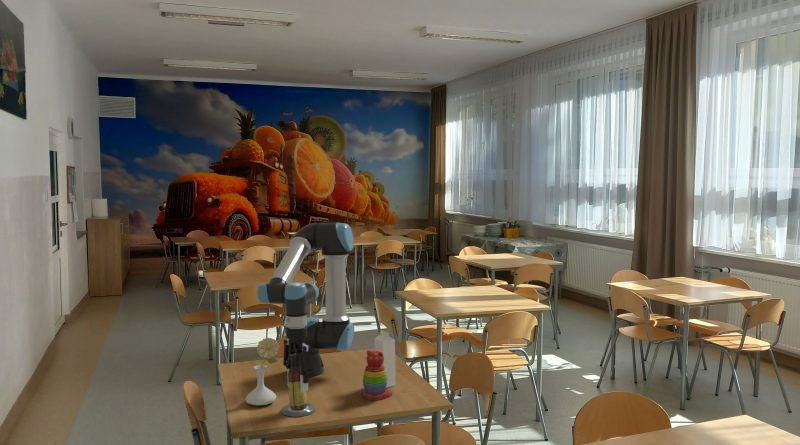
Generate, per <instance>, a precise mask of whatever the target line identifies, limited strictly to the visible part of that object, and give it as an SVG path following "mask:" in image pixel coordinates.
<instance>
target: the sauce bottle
mask: <svg viewBox="0 0 800 445" xmlns="http://www.w3.org/2000/svg"><path fill="white" fill-rule="evenodd" d="M289 356H290V363H291V365H290V366H291V367H290V370H289V372H288V377H287V387H288V386H289V387H288V396H289V398H288V399H289V404H290V408H291V409H293V410H302V409H305V408H306V407H307V403H308V398H307V395H308V394H307V391H306V392H303V393H301V383H300V374H301V373H302V372H301V368H300V364H299V360H298V356H296V353H293V354H290V355H289Z"/></svg>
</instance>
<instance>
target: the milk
mask: <svg viewBox="0 0 800 445" xmlns="http://www.w3.org/2000/svg"><path fill="white" fill-rule="evenodd" d="M379 332H380V333H379V334H378V335H377V336H376V337H375V338H374V351H379V352H382V353H383V356H384V361H383V364H382V365H383V366H384V367H385V370H386V375H387V386H386V389H387V388H391V387H394V386H396V339H394V338H392V337H390V332H387V331H384V330H379Z"/></svg>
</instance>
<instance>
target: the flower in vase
mask: <svg viewBox="0 0 800 445" xmlns="http://www.w3.org/2000/svg"><path fill="white" fill-rule="evenodd" d="M279 349H280V345H279V344H278V342H277V340H276V339H275V338H272V337H268V336H267V337H266V338H263V339H262V340H259V342H258V344H257V347H256V352H257V354H259V357H261V358H263V359H265V360H264V361H263V362H262V361H260V360H258V359H254V358H253V360H254V361H255V362H259V363H261V364H258V365H257V364H256V365H253V370H254V371H255V374H256V377H257V384H256V387H255V388H254V389H253V390H252V391H251V392H249V393H248V394H247V395H246V397H245V402H246V403H247V404H248V405H252V406H266V405H269V404H271V403H274V402H275V401H276V400H277V394H276V393H274V391H272V390H271V389H269V388H268V387H267V386H266V385H265V383H264V382H265V380H264V378H265V377H264V375H265V371H266V369H267V367H268V366H267V365H266V364H265V363H266V362H267V363H268V364H271V365H272V364H275V363H277V362H278V359H276V358H275V356H276V355H277V354H278V351H279Z"/></svg>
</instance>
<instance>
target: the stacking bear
mask: <svg viewBox="0 0 800 445" xmlns="http://www.w3.org/2000/svg"><path fill="white" fill-rule="evenodd" d="M365 359H366V363H367V365H365V369H364V371H363V375H362V385H363V398H365V400H369V401H380V400H385V399H388V398H390V397H392V396H393V392H392V390H390V389H387V388H386V386H387V375H386V370H385V367H384V366H383V365H382V364H383V361H384V356H383V353H382V352H379V351H375V350H372V351H371V350H367V351H366V358H365Z"/></svg>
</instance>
